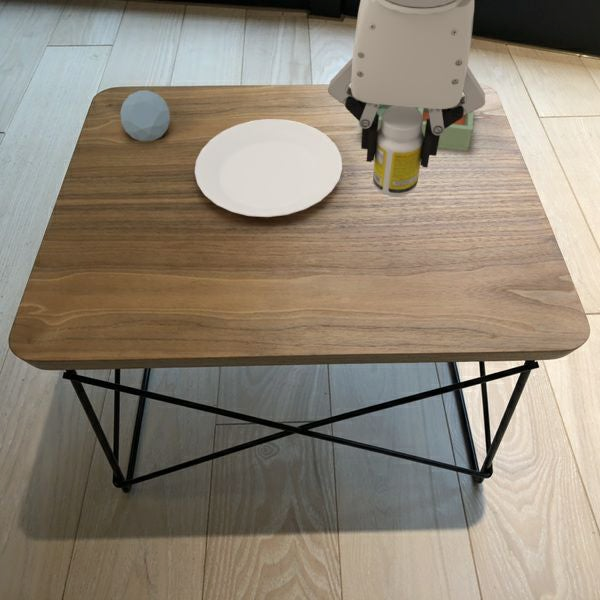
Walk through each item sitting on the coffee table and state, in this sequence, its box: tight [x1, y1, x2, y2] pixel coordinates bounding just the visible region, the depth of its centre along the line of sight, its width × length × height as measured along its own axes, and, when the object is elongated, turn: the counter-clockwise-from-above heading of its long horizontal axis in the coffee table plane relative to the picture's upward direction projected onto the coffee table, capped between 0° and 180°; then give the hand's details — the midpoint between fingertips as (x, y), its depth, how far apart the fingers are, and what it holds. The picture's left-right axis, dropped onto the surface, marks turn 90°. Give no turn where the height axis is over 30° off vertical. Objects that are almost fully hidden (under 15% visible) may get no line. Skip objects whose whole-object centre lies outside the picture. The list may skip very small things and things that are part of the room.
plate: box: [194, 118, 344, 218], centre depth 88 cm, size 21×21×2 cm
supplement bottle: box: [372, 106, 424, 197], centre depth 63 cm, size 5×5×8 cm
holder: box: [377, 94, 475, 152], centre depth 93 cm, size 8×15×4 cm, turn 78°
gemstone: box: [119, 90, 171, 142], centre depth 95 cm, size 8×8×5 cm
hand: (398, 154), depth 63 cm, fingers closed on supplement bottle, 4 cm apart
